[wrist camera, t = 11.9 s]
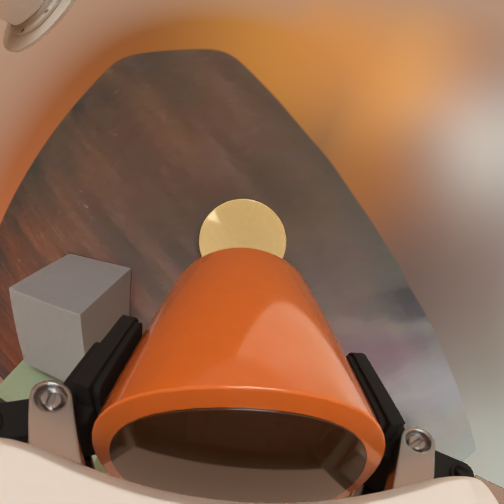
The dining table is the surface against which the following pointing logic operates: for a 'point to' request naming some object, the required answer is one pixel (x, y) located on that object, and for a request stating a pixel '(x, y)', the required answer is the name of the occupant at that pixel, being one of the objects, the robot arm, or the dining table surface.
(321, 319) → the orange cup
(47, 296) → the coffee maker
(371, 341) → the dining table surface
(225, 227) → the flat yellow disc
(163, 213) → the dining table surface
